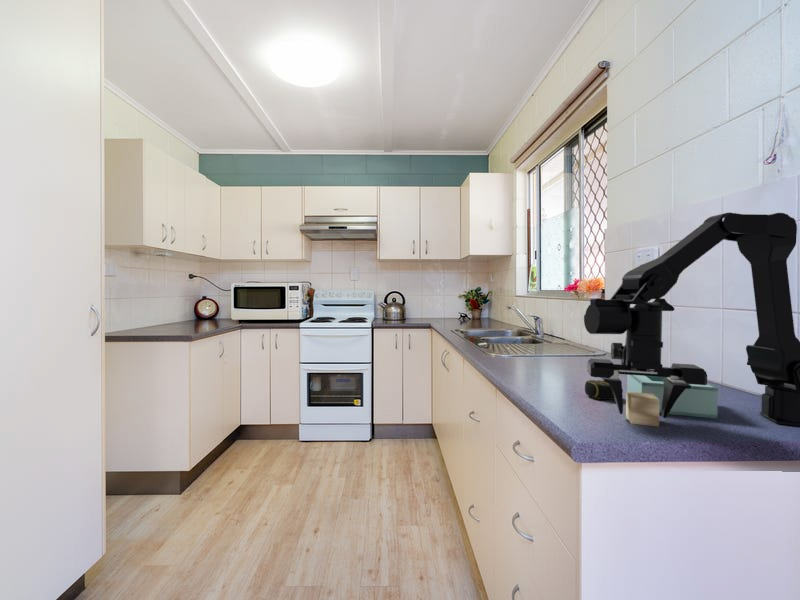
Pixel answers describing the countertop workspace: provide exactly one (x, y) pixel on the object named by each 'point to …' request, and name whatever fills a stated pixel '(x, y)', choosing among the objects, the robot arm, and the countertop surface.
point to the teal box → (689, 402)
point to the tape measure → (599, 389)
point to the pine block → (642, 408)
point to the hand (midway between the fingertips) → (641, 415)
